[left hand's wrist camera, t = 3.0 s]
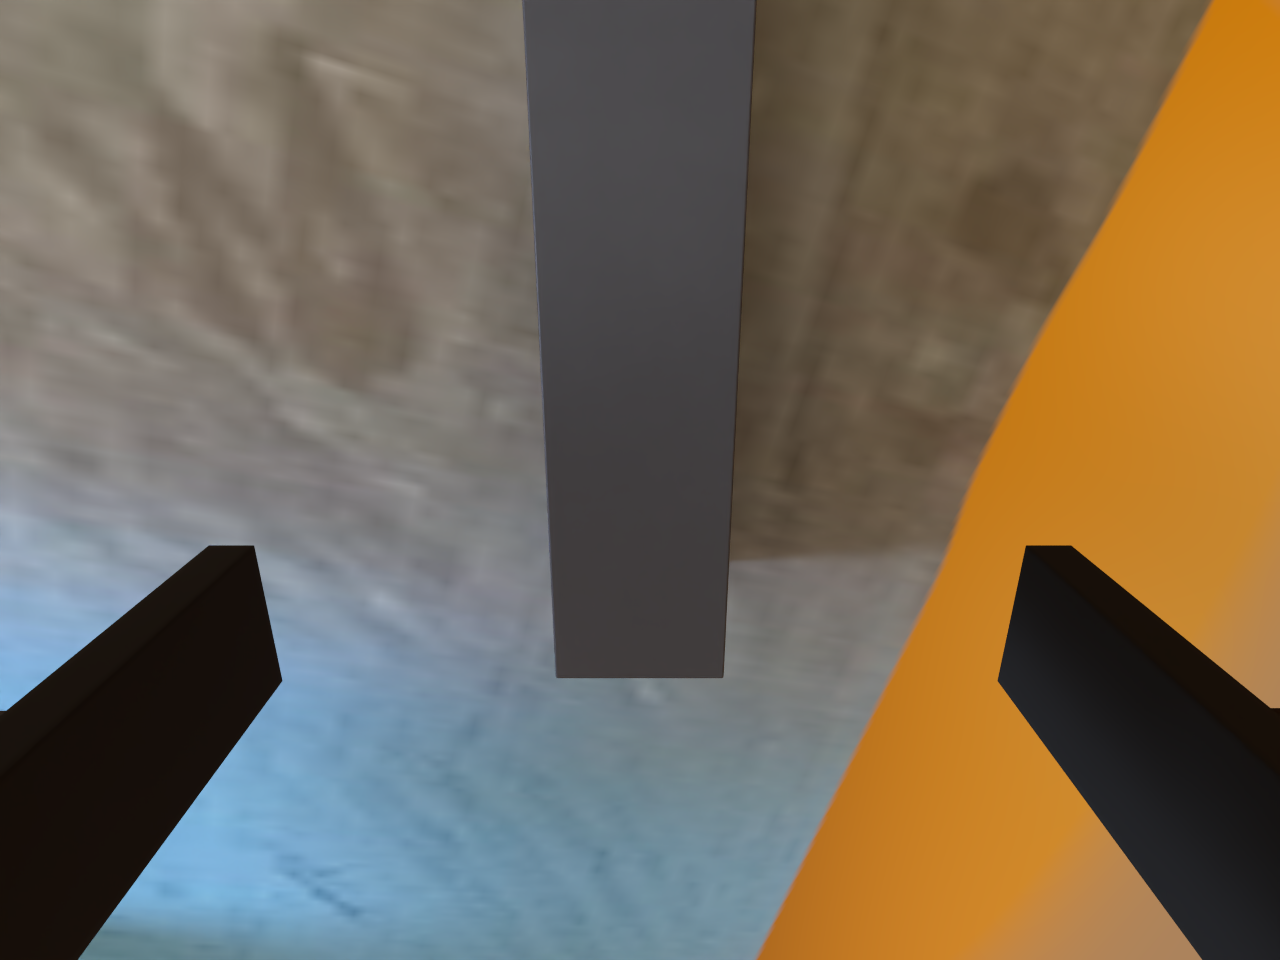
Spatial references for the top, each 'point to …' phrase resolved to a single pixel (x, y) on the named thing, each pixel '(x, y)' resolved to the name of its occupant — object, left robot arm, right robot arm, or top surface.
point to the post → (639, 320)
